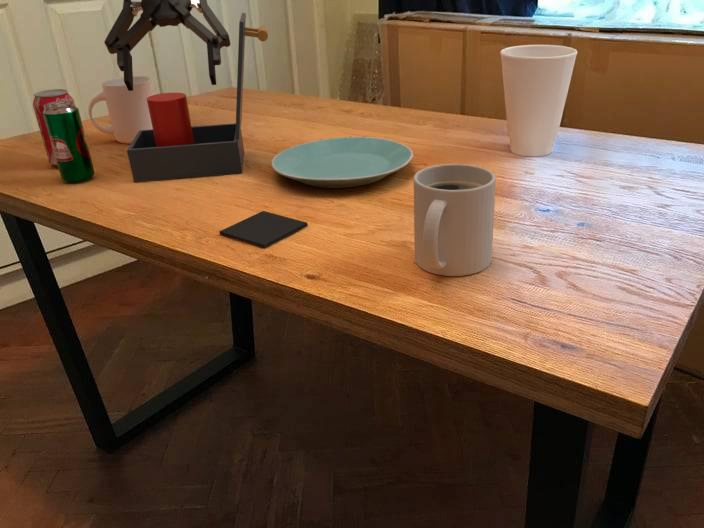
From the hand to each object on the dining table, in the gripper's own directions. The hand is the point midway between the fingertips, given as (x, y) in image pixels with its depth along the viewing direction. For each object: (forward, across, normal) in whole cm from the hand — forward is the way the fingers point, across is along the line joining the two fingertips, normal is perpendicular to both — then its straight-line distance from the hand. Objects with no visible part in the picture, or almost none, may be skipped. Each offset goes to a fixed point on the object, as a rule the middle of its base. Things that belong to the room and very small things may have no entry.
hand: (171, 83), depth 109 cm
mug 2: (+45, -35, +27) cm, 63 cm away
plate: (+20, -26, +3) cm, 33 cm away
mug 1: (-1, +12, -19) cm, 22 cm away
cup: (+18, -58, 0) cm, 61 cm away
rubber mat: (+34, -14, +17) cm, 41 cm away
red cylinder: (+13, 0, -4) cm, 13 cm away
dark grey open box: (+13, -2, -4) cm, 14 cm away
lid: (+3, -12, +6) cm, 13 cm away
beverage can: (+8, +20, -10) cm, 23 cm away
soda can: (+15, +16, -3) cm, 22 cm away
